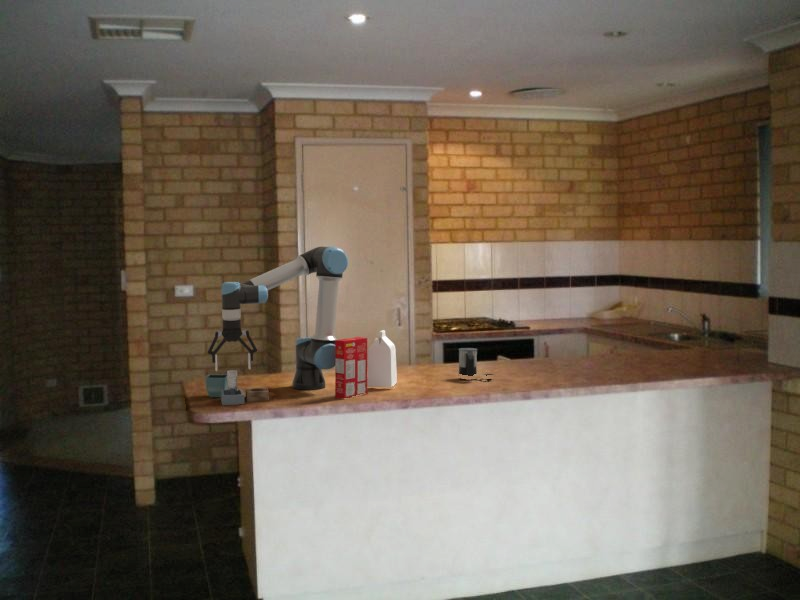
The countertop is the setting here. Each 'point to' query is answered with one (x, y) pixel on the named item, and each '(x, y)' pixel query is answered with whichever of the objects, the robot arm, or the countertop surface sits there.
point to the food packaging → (350, 367)
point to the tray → (232, 398)
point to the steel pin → (232, 382)
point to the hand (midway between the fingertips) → (233, 369)
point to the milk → (382, 362)
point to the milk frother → (468, 361)
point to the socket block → (257, 394)
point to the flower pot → (215, 384)
